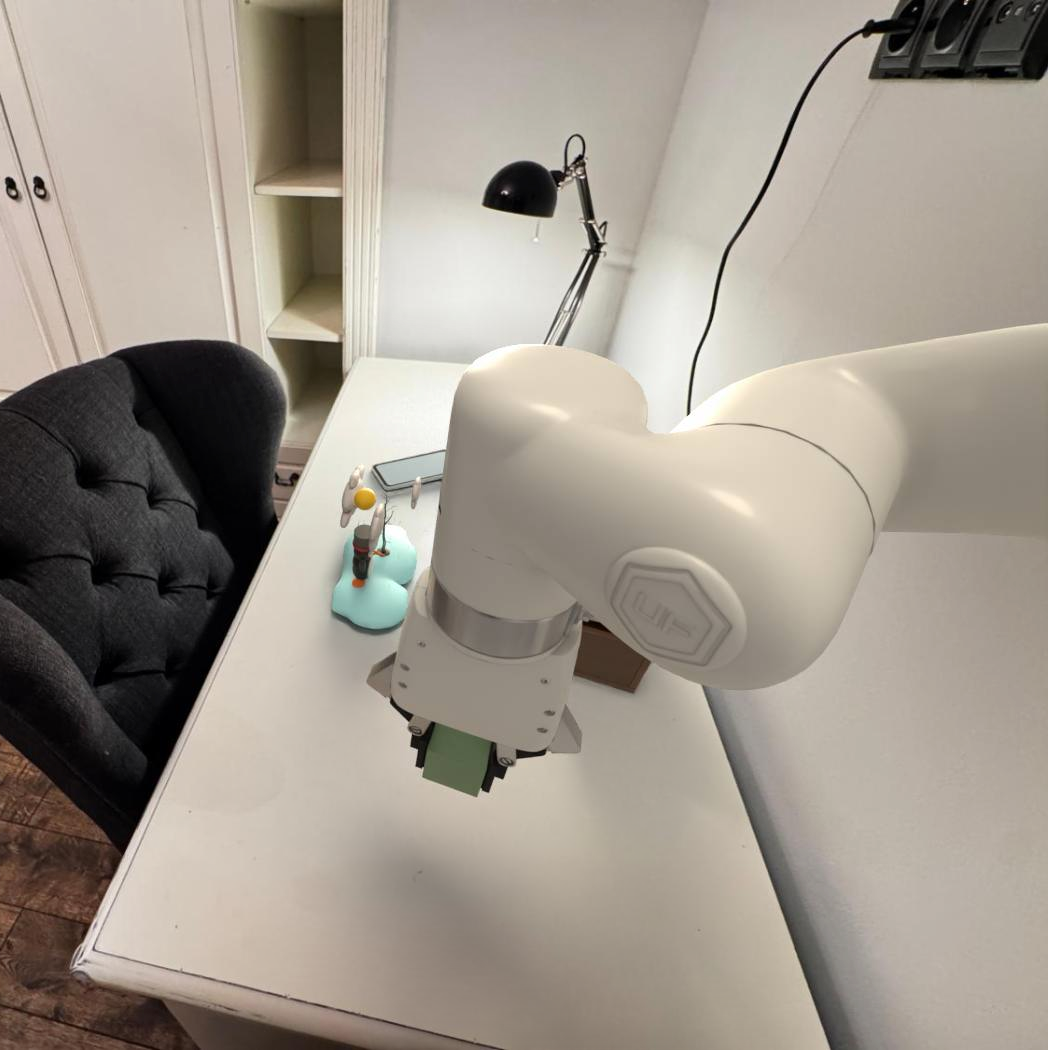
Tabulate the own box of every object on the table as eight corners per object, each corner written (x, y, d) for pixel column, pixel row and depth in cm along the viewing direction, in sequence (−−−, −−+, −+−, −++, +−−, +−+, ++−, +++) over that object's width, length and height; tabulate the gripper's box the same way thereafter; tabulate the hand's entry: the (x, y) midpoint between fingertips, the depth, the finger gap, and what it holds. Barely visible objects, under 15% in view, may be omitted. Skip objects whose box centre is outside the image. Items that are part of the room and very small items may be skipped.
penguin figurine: (402, 640, 71) (411, 552, 61) (319, 625, 73) (316, 537, 63) (421, 537, 86) (432, 453, 76) (353, 527, 88) (354, 443, 78)
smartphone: (369, 464, 99) (447, 448, 103) (369, 469, 100) (446, 452, 103) (385, 488, 94) (466, 470, 98) (385, 493, 95) (465, 474, 98)
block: (487, 747, 43) (496, 718, 40) (477, 798, 40) (486, 770, 37) (435, 729, 44) (441, 700, 41) (421, 777, 41) (426, 749, 38)
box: (633, 693, 66) (662, 643, 60) (544, 665, 68) (564, 615, 62) (635, 613, 75) (661, 563, 69) (557, 592, 78) (575, 542, 72)
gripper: (670, 583, 30) (578, 755, 42) (372, 511, 35) (365, 684, 47) (678, 699, 25) (570, 858, 37) (324, 596, 29) (330, 767, 41)
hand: (456, 760), depth 41 cm, fingers closed on block, 4 cm apart
